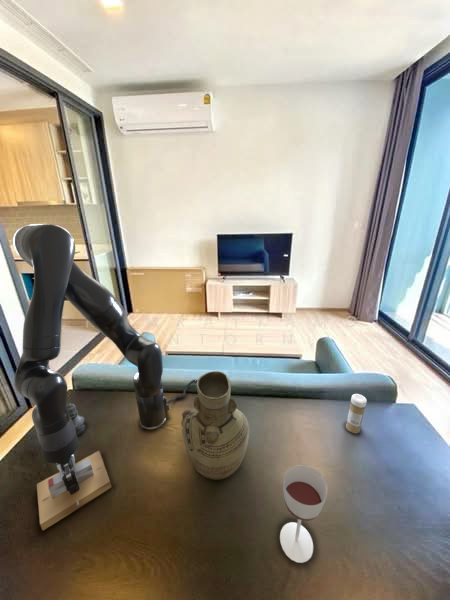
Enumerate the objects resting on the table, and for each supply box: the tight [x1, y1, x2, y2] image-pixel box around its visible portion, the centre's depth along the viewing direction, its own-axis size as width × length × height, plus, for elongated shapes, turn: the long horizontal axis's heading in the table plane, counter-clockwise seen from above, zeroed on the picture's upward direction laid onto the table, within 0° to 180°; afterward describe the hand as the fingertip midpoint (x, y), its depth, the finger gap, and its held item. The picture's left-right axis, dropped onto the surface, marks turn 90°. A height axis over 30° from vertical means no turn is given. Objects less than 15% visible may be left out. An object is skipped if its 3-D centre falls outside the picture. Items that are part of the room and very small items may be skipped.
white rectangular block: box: [48, 458, 94, 499], centre depth 68 cm, size 10×2×4 cm, turn 129°
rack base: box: [36, 450, 112, 531], centre depth 69 cm, size 16×14×3 cm
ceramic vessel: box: [181, 370, 250, 481], centre depth 73 cm, size 19×21×30 cm
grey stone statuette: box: [66, 402, 86, 436], centre depth 86 cm, size 6×6×12 cm
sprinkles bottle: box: [345, 393, 368, 434], centre depth 85 cm, size 5×5×14 cm
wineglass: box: [279, 464, 328, 564], centre depth 55 cm, size 8×9×20 cm
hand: (73, 481), depth 69 cm, fingers closed on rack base, 5 cm apart
